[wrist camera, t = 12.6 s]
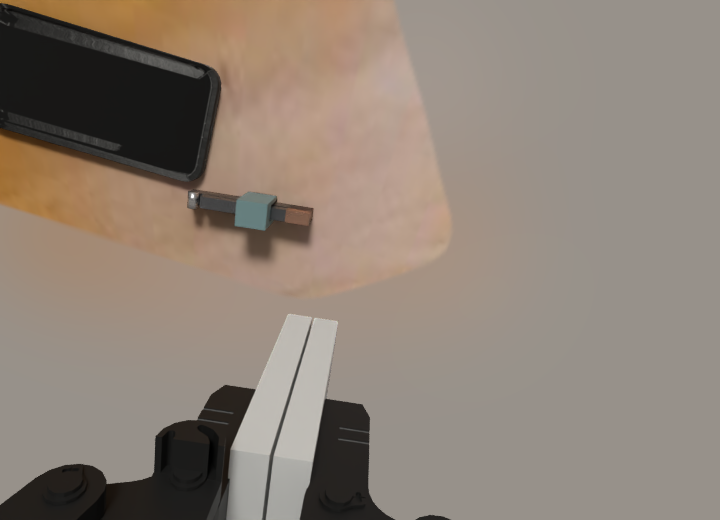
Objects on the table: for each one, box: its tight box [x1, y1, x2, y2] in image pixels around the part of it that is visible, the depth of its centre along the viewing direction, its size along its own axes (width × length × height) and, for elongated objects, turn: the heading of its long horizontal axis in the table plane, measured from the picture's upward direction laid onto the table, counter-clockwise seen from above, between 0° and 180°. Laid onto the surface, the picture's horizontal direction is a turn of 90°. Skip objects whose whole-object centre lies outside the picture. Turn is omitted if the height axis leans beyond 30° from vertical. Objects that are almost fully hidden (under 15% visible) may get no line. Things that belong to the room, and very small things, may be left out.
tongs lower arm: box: [191, 189, 313, 222], centre depth 35 cm, size 8×1×1 cm, turn 81°
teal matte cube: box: [235, 192, 277, 231], centre depth 34 cm, size 2×2×3 cm
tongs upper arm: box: [187, 191, 311, 226], centre depth 34 cm, size 8×1×1 cm, turn 81°
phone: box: [0, 3, 221, 182], centre depth 34 cm, size 8×1×15 cm
